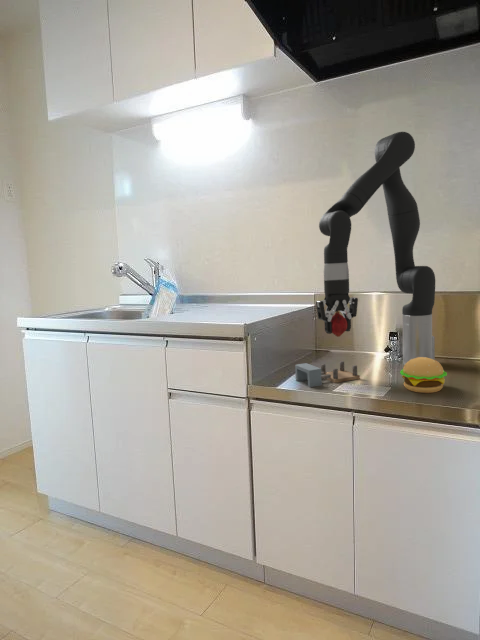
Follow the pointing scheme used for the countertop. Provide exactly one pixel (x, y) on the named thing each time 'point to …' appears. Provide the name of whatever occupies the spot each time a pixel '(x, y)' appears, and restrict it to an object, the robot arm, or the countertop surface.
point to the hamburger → (423, 375)
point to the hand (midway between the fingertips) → (337, 332)
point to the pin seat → (339, 373)
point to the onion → (338, 324)
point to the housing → (308, 374)
